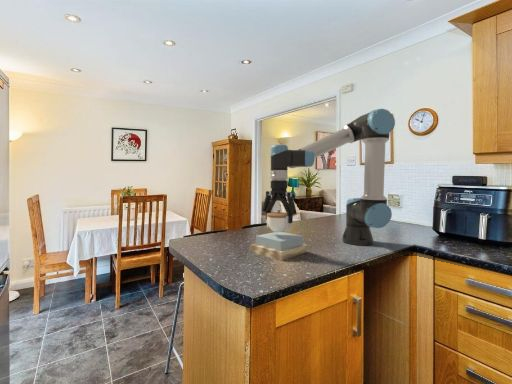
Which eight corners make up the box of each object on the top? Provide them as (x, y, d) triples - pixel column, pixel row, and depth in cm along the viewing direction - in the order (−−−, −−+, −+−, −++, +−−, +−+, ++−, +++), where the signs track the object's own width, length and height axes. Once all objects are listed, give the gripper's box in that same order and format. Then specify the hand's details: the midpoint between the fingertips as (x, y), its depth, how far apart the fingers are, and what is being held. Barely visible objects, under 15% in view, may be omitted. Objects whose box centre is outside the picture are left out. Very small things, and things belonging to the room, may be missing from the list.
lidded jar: (263, 229, 127) (263, 209, 126) (283, 227, 131) (283, 208, 130) (273, 233, 117) (273, 212, 116) (295, 231, 121) (295, 210, 120)
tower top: (303, 244, 124) (303, 236, 123) (280, 251, 113) (280, 241, 113) (278, 239, 135) (278, 231, 134) (256, 244, 125) (256, 235, 124)
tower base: (306, 253, 124) (306, 244, 124) (281, 262, 112) (281, 252, 111) (276, 246, 137) (276, 238, 137) (250, 253, 124) (250, 244, 124)
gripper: (254, 179, 128) (254, 226, 129) (294, 180, 112) (294, 233, 113) (265, 179, 133) (265, 224, 135) (305, 180, 117) (304, 231, 118)
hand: (278, 228), depth 124 cm, fingers closed on lidded jar, 11 cm apart
